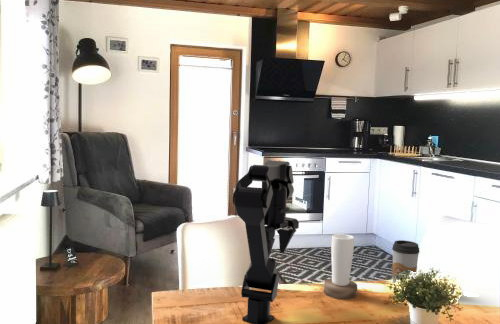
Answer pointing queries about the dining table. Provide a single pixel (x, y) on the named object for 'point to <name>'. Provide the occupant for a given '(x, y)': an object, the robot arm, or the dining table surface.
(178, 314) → the dining table surface
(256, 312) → the robot arm
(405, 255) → the coffee cup
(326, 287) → the walnut stand
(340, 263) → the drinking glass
